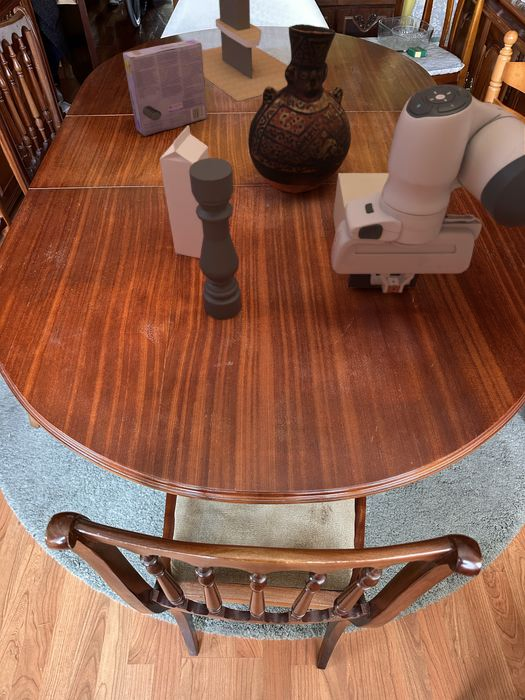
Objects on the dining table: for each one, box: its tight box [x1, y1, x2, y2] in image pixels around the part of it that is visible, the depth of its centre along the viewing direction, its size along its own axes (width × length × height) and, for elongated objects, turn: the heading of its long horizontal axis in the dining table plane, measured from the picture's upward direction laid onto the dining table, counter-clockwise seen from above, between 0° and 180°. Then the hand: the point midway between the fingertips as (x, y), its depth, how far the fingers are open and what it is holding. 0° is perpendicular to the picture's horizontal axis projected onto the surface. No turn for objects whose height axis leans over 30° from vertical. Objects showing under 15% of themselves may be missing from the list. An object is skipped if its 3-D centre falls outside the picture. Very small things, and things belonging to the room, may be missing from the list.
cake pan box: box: [122, 38, 208, 137], centre depth 122 cm, size 19×5×18 cm, turn 123°
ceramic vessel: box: [247, 23, 352, 194], centre depth 99 cm, size 21×18×30 cm
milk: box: [159, 125, 210, 259], centre depth 87 cm, size 6×6×22 cm
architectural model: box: [202, 0, 289, 102], centre depth 144 cm, size 38×25×20 cm, turn 32°
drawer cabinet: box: [332, 172, 388, 233], centre depth 93 cm, size 16×13×10 cm
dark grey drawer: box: [347, 274, 420, 288], centre depth 87 cm, size 19×11×8 cm, turn 0°
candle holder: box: [189, 157, 242, 320], centre depth 76 cm, size 6×6×25 cm
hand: (391, 290), depth 80 cm, fingers closed
